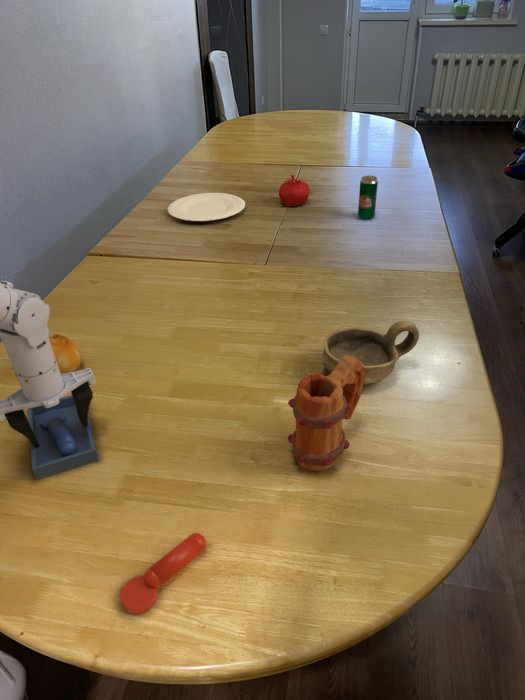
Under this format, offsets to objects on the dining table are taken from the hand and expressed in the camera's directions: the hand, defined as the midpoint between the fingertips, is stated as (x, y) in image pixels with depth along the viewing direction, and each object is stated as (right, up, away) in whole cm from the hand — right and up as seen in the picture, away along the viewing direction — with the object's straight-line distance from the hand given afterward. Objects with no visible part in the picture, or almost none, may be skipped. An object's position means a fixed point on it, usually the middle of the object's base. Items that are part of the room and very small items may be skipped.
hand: (60, 433), depth 82 cm
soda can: (+64, +54, +75) cm, 112 cm away
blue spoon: (-1, 0, +3) cm, 3 cm away
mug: (+42, -2, -1) cm, 42 cm away
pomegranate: (+43, +61, +87) cm, 115 cm away
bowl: (+52, +9, +14) cm, 54 cm away
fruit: (-6, +9, +18) cm, 21 cm away
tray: (-1, -1, +3) cm, 3 cm away
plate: (+14, +58, +84) cm, 103 cm away
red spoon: (+20, -15, -18) cm, 31 cm away
